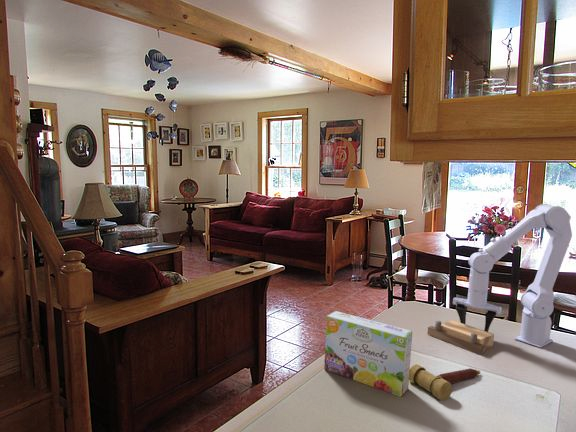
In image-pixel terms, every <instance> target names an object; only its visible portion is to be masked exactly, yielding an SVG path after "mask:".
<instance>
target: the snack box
mask: <svg viewBox="0 0 576 432" xmlns="http://www.w3.org/2000/svg"><path fill="white" fill-rule="evenodd" d="M325 323H326V324H325V325H326V326H325V344H324V345H325V348H324V371H325V370H326V371H327V372H331V373H334V374H336V375H339V376H342V377H345V378H347V379H351V380H353V381H355V382H358V383H361V384H364V385H367V386H370V387H372V388H374V389H375V388H376V389H378V390H381V391H383V392H386V393H387V394H388V393H389V394H392V395H394V396H397V397H399V398H401V397H403V395H404V394H405V393H406V392H407V390H408V389H409V382H410V380H409V372H410V369H411V358H412V357H411V355H412V341H413V331H412V330H409V329H406V328H402V327H398V326H394V325H391V324H388V323H384V322H379V321H376V320H372V319H368V318H365V317H360V316H357V315H354V314H349V313H345V312H342V311H336V310H335V311H333V312H331V313H330V314H327V315H326V322H325Z"/></svg>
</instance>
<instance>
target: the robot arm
mask: <svg viewBox="0 0 576 432" xmlns="http://www.w3.org/2000/svg"><path fill="white" fill-rule="evenodd" d="M571 218H572V216H571V215H570V214H569V212H568V211H567V210H566V209H565V208H564V207H562V206H559V205H549V204H548V203H546V204H545V203H541V204H539V205H537V206H535V208H534V209H532V210H530V211H529V212H528V213H527V214H526V215H525V216H524V217H523V218H522V219H521V220H520V221H519V222H517V224H515V226H513V227H512V228H511V229H510V230H509V231H508V232H507V233H506V234H504V235H503V236H495V237H492V238H491V239H490V242H488V244H486V245H485V246H484V247H483V248H479V249H478V251H477V252H474V253H472V254H471V255H470V257H469V258H468V260H467V261H468V262H467V263H468V265H469V266H470V267H469V268H470V269H469V270H470V271H469V278H468V290H467V291H468V292H467V298H462V297H461V298H460V297H453V299H452V305H456V307H455V311H456V312H457V315H458V317H459V322H460V323H463V324H466V325H467V323H466V317H467V312H468V311H467V310H468V308H471V309H475V310H476V309H477V310H479V311H485V312H486V313H485V321H484V323H485V324H484V331H487V332H489V330H490V327H491V324H492V323H493V320H494V319H495V317H496V315H501V314H502V309H503V308H502V307H503V306H502V307H501V306H497V305H494V304H491V303H488V301H487V300H488V291H489V290H488V289H489V281H490V272H491V271H492V269H493V267H494V264H495V263H496V262H498V261H499V260H500V259H502V257H504V256H506V254H508V253H509V252H510V251H511V250H512V244H515V242H517V241H518V240H520V239H521V238H522V237H524V236H525V235H527V234H528V233H529V232H530V231H532V230H534V229H543V228H544V229H545V231H546V233H548V235H549V236H550V237H549V238H548V242H547V244H546V246H545V250H544V251H543V252H544V253H543V256H542V258H541V261H540V264H539V266H538V269H537V272H536V274H535V278H534V280H533V282H532V283H530V284H529V285H528V287H527V288H526V290H525V291H524V292H523V293H522V294H521V296H520V302H521V305H522V307H523V309H522V313H521V325H520V332H519V333H520V335H518V336H515V337H514V340H515V341H518V342H519V341H520V342H522V343H525V344H529V345H531V346H535V347H538V348H543V347H544V346H547V345H548V344H550V343H552V342H553V341H554V340H553V339H552V338H551V330H552V329H551V328H552V318H551V315H552V313H553V312H554V309H555V308H554V300H555V295H554V290H553V288H554V285H555V283H556V279H557V277H558V275H559V272H560V269H561V267H562V264H563V261H564V258H565V256H566V253H567V251H568V248H569V245H570V243H571V240H572V238H573V233H572V228H571V223H570V222H571Z"/></svg>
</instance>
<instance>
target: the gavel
mask: <svg viewBox="0 0 576 432" xmlns="http://www.w3.org/2000/svg"><path fill="white" fill-rule="evenodd" d="M426 369H427V368H425V367H423V366H421V365H420V364H414V365H412V366H410V372H409V382H410V383H412V384H414V385H418V386H419V387H422V389H424V390H426V391H427V392H429V393H431V394H432V395H433V396H434V398H436V399H438V400H439V401H444V400H448V399H449V398H450V396H451V395H452V392H453V385H452V384H454V383H459V382H465V381H469V380H472V379H473V378H474V379H476V378H477V375H478V376H479V375H480V374H481V371H480V370H479V369H473V368H465V369H460V370H455V371H449V372H445V373H440V374H438V375H435V374H433V373H431V372H429V371H428V370H426ZM474 379H473V380H474Z"/></svg>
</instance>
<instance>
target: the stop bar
mask: <svg viewBox="0 0 576 432" xmlns="http://www.w3.org/2000/svg"><path fill="white" fill-rule="evenodd" d="M441 324H443V323H442V321H440V320H435V324H434V326H433V325H430V326H427V335H428V336H431V337H433V338H436V339H438V340H440V341H444V342H446V343H449V344H452V345H454V346H457V347H459V348H462V349H464V350H467V351H469V352H473V353H475V354H478V355H480V356H481V355H484V354H485V350H484V348H485V345H483V344H480V343H477V334H475V333H471V338H470V340H469V339H466V338H464V337H461V336H458V335H455V334H453V333H450V332H447V331H445V330H442V329H441Z"/></svg>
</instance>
